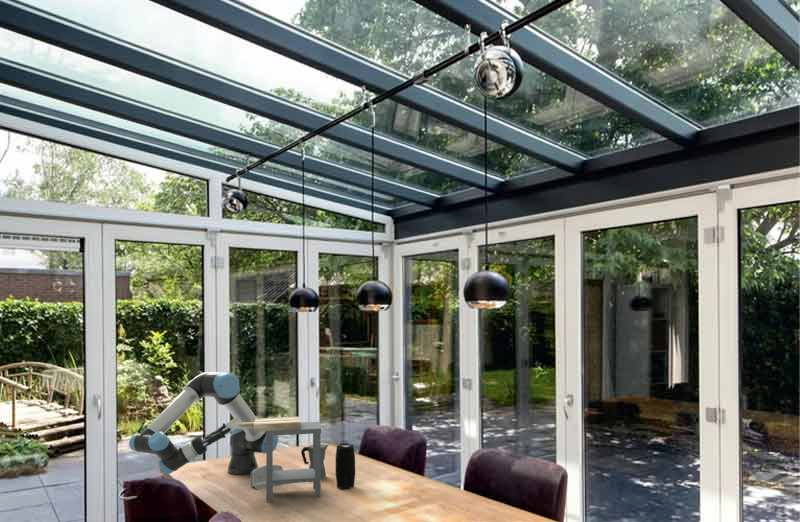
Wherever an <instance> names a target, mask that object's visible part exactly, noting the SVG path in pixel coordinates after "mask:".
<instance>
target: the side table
mask: <svg viewBox="0 0 800 522" xmlns="http://www.w3.org/2000/svg"><path fill="white" fill-rule="evenodd" d="M321 434H322V426H321V424H320V421H307V422H306V421H305V422H300V429H297V430H277V431H266V457H265V458H266V460H265V461H266V464H265V465H266V487H265V489H266V490H265V492H266V498H265V499H266V501H265V502H266V503H271V502H273V489H274V488H273V487H274V486H273V484H280V485H286V484H299V483H311V482H312V484H313V486H312V488H313V490H314V498H315V499H321V498H322V496H321V495H322V487H321V485H322V484H321V483H322V482H321V481H322V479H321V451H320V444H321ZM293 435H294V436H296V435H312V445H313V468H311V469H309V468H300V469H299V468H298V469H296V468H295V469H283V470H279V471H273V465H274V464H273V463H274V461H273V458H274V455H273V454H274V453H273V452H274V451H273V436H278V437H279V436H293Z"/></svg>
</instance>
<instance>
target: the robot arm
mask: <svg viewBox="0 0 800 522" xmlns="http://www.w3.org/2000/svg"><path fill="white" fill-rule="evenodd" d="M240 388H241V386H240V380H239V378H238V377H237V376H236V375H235V374H233V373H231V372H226V371H225V372H224V371H223V372H221V371H219V372H218V371H205V372H202V373H200V374H198V375H196V376H195V377H193V379H191V380H190V381H189V382H187V384H186V385H184V387H183V388H182V391H181V392H180V394H178V395H177V396H176V398H175V399H173V401H171V403H170V404H169V405H168V406H167V407H165V409H164V410H163V411H162V412H161V413H160V414H159V415H158V416H157V417H156V418H155V419H154V420H153V421H152V422H150V424H149V425H148V426H147V427H146V428H145V429H143V431H142V432H140V433H135V434H133V435H132V436H131V437H130V439H129V441H128V444H129V445H128V446H129V448H130V450H132V451H133V452H137V453H144V454H150V455H156V456H157V457H158V458H159V461H158V466H159V468H160V470H161V471H162V473H163V474H164V475H170V474H173V473H174V472H177V471H178V470H179V469H180V468H183V467H184V466H185V465H186V464H188V463H190V462H192V461H193V462H194V461H196V458H198V457H199V456H202V455H203V454H204V453H207V451H208V447H209V446H210V445H212V444H214V443H215V442H218V441H220V440H221V439H225V438H226V437H227V435H229V434H230V433H231V437H230V438H231V440H230V442H231V447H230V449H231V457H230V460H229V464H228V466H227V473H229V474H232V475H247V474H251V472H252V471H253V470H255V469H257V468H259V465H258V461H257V458H256V456H255V453H259V454H263V455H265V454H266V431H258V432H254V428H245V429H237V428H238V427H239V426H238V424H237V423H243V422H255V419H258V417H257V416H256V415H255V413H254V412H253V411H252V409H251V408H250V407H249V405H248V403H247V402H246V401H245V399H244V398H243V397H242V395H240ZM205 397H209V398H214V399H215V401H216V402H217V403H218V405H220V406H224V407H225V408H226V410H227V411H228V412H229V413H230V415H231V417H232V420H229V421H228V422H227V423H222V425H221V426H220V427H218V428H217V429H216V430H214V431H212V432H210V433H209V434H207V435H206V436H204V438H203V439H202V437H200V436H196V437H195V438H194V439H192V440H191V441H189V442H186V443H184V444H182V445H181V446H180V447H178V448H177V447H176V446H175V444H174V443H173V442H172V440H171V439H170V438H169V437H168V436H167V434H166V433H167V431H169V429H170V428H171V427H172V426H173V425H174V424H175V423H176V422H177V421H178V420H179V419H180V418H182V416H183V415H184V414H185V413H186V412H187V411H188V410H189V408H191V407H192V405H193V404H194V403H199V401H200V400H201V399H203V398H205ZM230 423H232V424H231V425H229V424H230ZM278 443H279V435H278V436H273V452H274V451H275V449H276V448H277V446H278Z"/></svg>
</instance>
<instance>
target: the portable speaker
mask: <svg viewBox="0 0 800 522" xmlns="http://www.w3.org/2000/svg"><path fill="white" fill-rule="evenodd" d="M355 478H356V454H355V447H354V444H353V443H352V444H351V443H347V442H342V443H339V444H338V445H336V452H335V480H336V489H337V488H340V489H341V490H342V491H347V490H350V489H351V488H354V487H355Z"/></svg>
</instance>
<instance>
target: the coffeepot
mask: <svg viewBox="0 0 800 522" xmlns="http://www.w3.org/2000/svg"><path fill="white" fill-rule="evenodd" d="M328 447H329V445H328V444H321V443H320V451H321V480H323V479H326V478H327V473H326V466H325V464H324V461H325V458H326V457H325V456H326V452H327V451H326V450H327V449H328ZM305 452H308V459H309V461H307V457H306V453H305ZM300 454H301V457H302V459H303V460H302V461H303V463H304V464H305V465H309V466H308V469H311V468H313V444H311V445H307V446H304V447H302V449H301V451H300Z"/></svg>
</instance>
